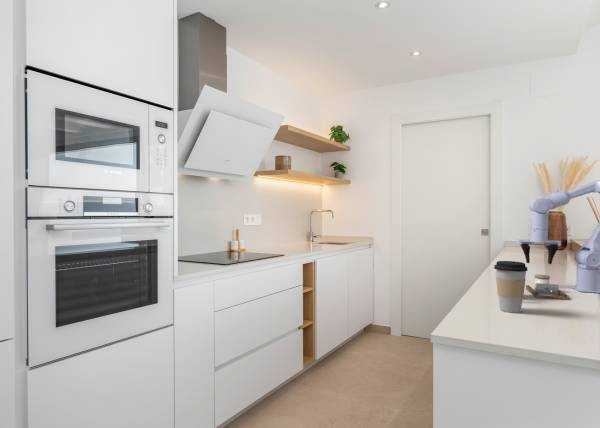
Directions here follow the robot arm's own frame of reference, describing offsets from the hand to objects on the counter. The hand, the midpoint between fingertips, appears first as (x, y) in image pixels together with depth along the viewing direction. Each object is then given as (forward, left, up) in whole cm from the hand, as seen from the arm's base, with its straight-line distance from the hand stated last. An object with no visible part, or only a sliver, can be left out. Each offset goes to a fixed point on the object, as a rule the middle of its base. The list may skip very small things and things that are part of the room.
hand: (538, 263), depth 160 cm
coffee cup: (+17, +41, -10) cm, 45 cm away
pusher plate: (0, +16, -10) cm, 19 cm away
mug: (+14, +23, -10) cm, 29 cm away
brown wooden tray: (0, +10, -10) cm, 14 cm away
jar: (0, +6, -10) cm, 12 cm away
